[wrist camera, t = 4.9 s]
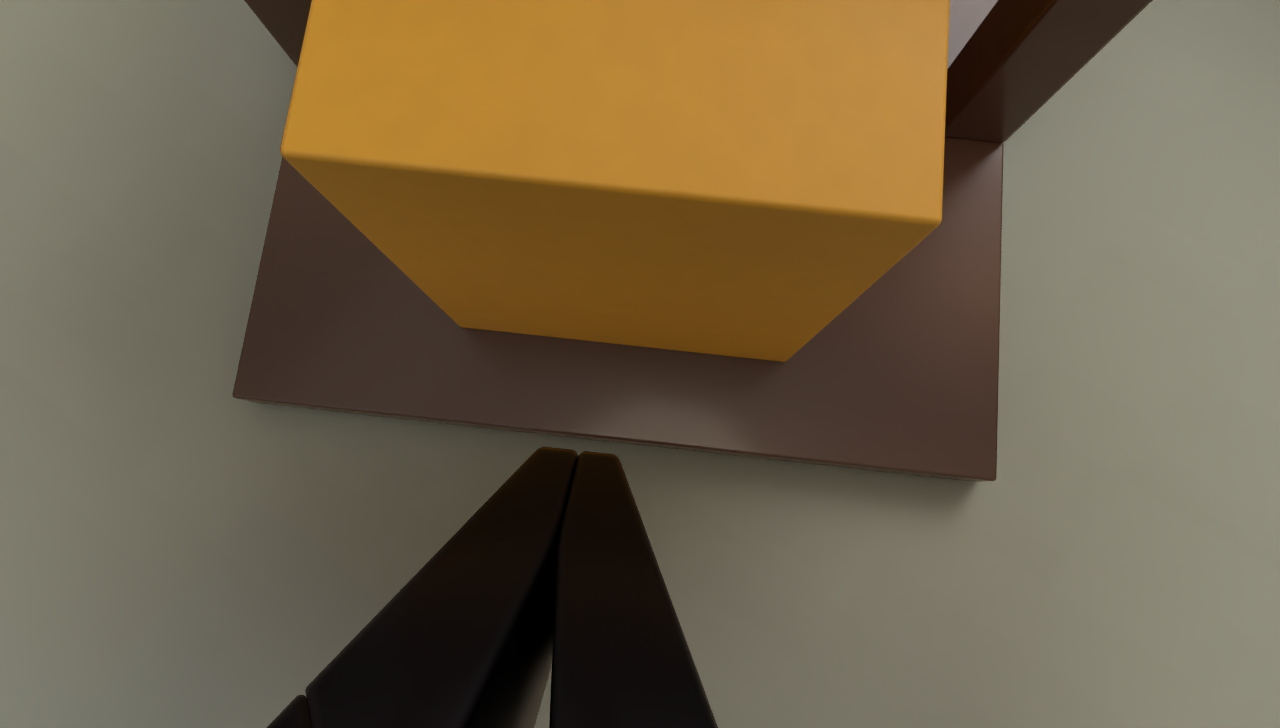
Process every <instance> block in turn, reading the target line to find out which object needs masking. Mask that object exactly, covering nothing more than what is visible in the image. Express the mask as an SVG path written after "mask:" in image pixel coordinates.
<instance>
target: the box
mask: <svg viewBox="0 0 1280 728" xmlns="http://www.w3.org/2000/svg"><path fill="white" fill-rule="evenodd" d="M949 9H950V0H312V2H311V6H310V11H309V16H308V21H307V25H306V30H305V35H304V40H303V44H302V49H301V54H300V59H299V63H298V68H297V73H296V78H295V82H294V87H293V92H292V96H291V101H290V106H289V111H288V115H287V120H286V125H285V130H284V134H283V139H282V144H281V149H280V150H281V155H282V157H283V158H284V159H285V160H286V161H288V162H289V163H290V164H291V165H292V166H293V167H294V168H295V169H296V170H297V171H298V172H299V173H300V174H301V175H302V176H303V177H304V178H305V179H306V180H307V181H308V182H309V183H310V184H312V185H313V186H314V187H315V188H316V189H317V190H318V191H319V192H320V193H321V194H322V195H323V196H324V197H325V198H326V199H327V200H328V201H329V202H330V203H331V204H332V205H333V206H334V207H336V208H337V209H338V210H339V211H340V212H341V213H342V214H343V215H344V216H345V217H346V218H347V219H348V220H349V221H350V222H351V223H352V224H353V225H354V226H355V227H356V228H357V229H358V230H360V231H361V232H362V233H363V234H364V235H365V236H366V237H367V238H368V239H369V240H370V241H371V242H372V243H373V244H374V245H375V246H376V247H377V248H378V249H379V250H380V251H381V252H382V253H384V254H385V255H386V256H387V257H388V258H389V259H390V260H391V261H392V262H393V263H394V264H395V265H396V266H397V267H398V268H399V269H400V270H401V271H402V272H403V273H404V274H405V275H406V276H408V277H409V278H410V279H411V280H412V281H413V282H414V283H415V284H416V285H417V286H418V287H419V288H420V289H421V290H422V291H423V292H424V293H425V294H426V295H427V296H428V297H429V298H430V299H432V300H433V301H434V302H435V303H436V304H437V305H438V306H439V307H440V308H441V309H442V310H443V311H444V312H445V313H446V314H447V315H448V316H449V317H450V318H451V319H452V320H453V321H454V322H456V323H457V324H458V325H459V326H460V327H464V328H473V329H483V330H492V331H501V332H511V333H520V334H529V335H538V336H548V337H557V338H566V339H576V340H585V341H594V342H603V343H613V344H622V345H631V346H641V347H650V348H659V349H668V350H678V351H687V352H696V353H705V354H715V355H724V356H733V357H743V358H752V359H761V360H770V361H780V362H785V361H787V360H788V359H789V358H790V357H792V356H793V355H794V354H795V353H796V352H797V351H798V350H799V349H801V348H802V347H803V346H804V345H805V344H806V343H807V342H808V341H810V340H811V339H812V338H813V337H814V336H815V335H816V334H817V333H819V332H820V331H821V330H822V329H823V328H824V327H825V326H826V325H828V324H829V323H830V322H831V321H832V320H833V319H834V318H835V317H837V316H838V315H839V314H840V313H841V312H842V311H843V310H844V309H846V308H847V307H848V306H849V305H850V304H851V303H852V302H853V301H855V300H856V299H857V298H858V297H859V296H860V295H861V294H862V293H864V292H865V291H866V290H867V289H868V288H869V287H870V286H871V285H873V284H874V283H875V282H876V281H877V280H878V279H879V278H880V277H882V276H883V275H884V274H885V273H886V272H887V271H888V270H889V269H891V268H892V267H893V266H894V265H895V264H896V263H897V262H898V261H900V260H901V259H902V258H903V257H904V256H905V255H906V254H907V253H909V252H910V251H911V250H912V249H913V248H914V247H915V246H916V245H918V244H919V243H920V242H921V241H922V240H923V239H924V238H925V237H927V236H928V235H929V234H930V233H931V232H932V231H933V230H934V229H936V228H937V227H938V226H939V225H940V223H941V221H942V199H943V172H944V144H945V117H946V90H947V63H948V36H949Z"/></svg>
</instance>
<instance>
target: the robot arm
mask: <svg viewBox="0 0 1280 728" xmlns="http://www.w3.org/2000/svg"><path fill="white" fill-rule="evenodd" d="M551 664H552V677H551V701H550V726H549V728H718V727H717V724H716V721H715V718H714V716H713V713H712V710H711V708H710V705H709V702H708V699H707V697H706V694H705V691H704V688H703V686H702V683H701V680H700V678H699V675H698V672H697V669H696V667H695V664H694V661H693V659H692V656H691V653H690V650H689V648H688V645H687V642H686V639H685V637H684V634H683V631H682V629H681V626H680V623H679V620H678V618H677V615H676V612H675V609H674V607H673V604H672V601H671V599H670V596H669V593H668V590H667V588H666V585H665V582H664V579H663V577H662V574H661V571H660V569H659V566H658V563H657V560H656V558H655V555H654V552H653V550H652V547H651V544H650V541H649V539H648V536H647V533H646V530H645V528H644V525H643V522H642V520H641V517H640V514H639V511H638V509H637V506H636V503H635V500H634V498H633V495H632V492H631V490H630V487H629V484H628V481H627V479H626V476H625V473H624V470H623V468H622V465H621V462H620V460H619V459H618V457H617V456H616V455H613V454H606V453H597V452H588V451H584V452H582V453H581V454H580V455H579V456H578V455H577V453H576V452H575V451H574V450H570V449H561V448H552V447H541V448H539V449H538V450H536V451H535V452H534V453H533V454H532V455H531V457H530V458H529V459H528V460H527V461H526V462H525V463H524V464H523V465H522V466H521V467H520V468H519V469H518V470H517V471H516V472H515V473H514V474H513V475H512V476H511V477H510V478H509V479H508V480H507V481H506V482H505V483H504V484H503V485H502V486H501V487H500V488H499V489H498V490H497V492H496V493H495V494H494V495H493V496H492V497H491V498H490V499H489V500H488V501H487V502H486V503H485V504H484V505H483V506H482V507H481V508H480V509H479V510H478V511H477V512H476V513H475V514H474V515H473V516H472V517H471V518H470V519H469V520H468V521H467V522H466V523H465V524H464V525H463V526H462V528H461V529H460V530H459V531H458V532H457V533H456V534H455V535H454V536H453V537H452V538H451V539H450V540H449V541H448V542H447V543H446V544H445V545H444V546H443V547H442V548H441V549H440V550H439V551H438V552H437V553H436V554H435V555H434V556H433V557H432V558H431V559H430V560H429V561H428V563H427V564H426V565H425V566H424V567H423V568H422V569H421V570H420V571H419V572H418V573H417V574H416V575H415V576H414V577H413V578H412V579H411V580H410V581H409V582H408V583H407V584H406V585H405V586H404V587H403V588H402V589H401V590H400V591H399V592H398V593H397V594H396V595H395V596H394V597H393V599H392V600H391V601H390V602H389V603H388V604H387V605H386V606H385V607H384V608H383V609H382V610H381V611H380V612H379V613H378V614H377V615H376V616H375V617H374V618H373V619H372V620H371V621H370V622H369V623H368V624H367V625H366V626H365V627H364V628H363V629H362V630H361V631H360V632H359V633H358V635H357V636H356V637H355V638H354V639H353V640H352V641H351V642H350V643H349V644H348V645H347V646H346V647H345V648H344V649H343V650H342V651H341V652H340V653H339V654H338V655H337V656H336V657H335V658H334V659H333V660H332V661H331V662H330V663H329V664H328V665H327V666H326V667H325V668H324V670H323V671H322V672H321V673H320V674H319V675H318V676H317V677H316V678H315V679H314V680H313V681H312V682H311V683H310V684H309V685H308V686H307V687H306V690H305V691H306V696H304V695H298V696H297V697H296V698H295V699H294V700H293V701H292V702H291V703H290V704H289V705H288V706H287V707H286V708H285V709H284V710H283V711H282V712H281V713H280V714H279V715H278V716H277V717H276V718H275V719H274V720H273V722H272V723H271V724H270V725H269V726H268V727H267V728H534V726H535V722H536V719H537V715H538V712H539V708H540V704H541V701H542V697H543V694H544V690H545V687H546V683H547V680H548V676H549V672H550V668H551Z"/></svg>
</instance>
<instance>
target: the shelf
mask: <svg viewBox="0 0 1280 728" xmlns="http://www.w3.org/2000/svg"><path fill="white" fill-rule="evenodd" d="M1151 1H1152V0H950V9H949V36H948V63H947V90H946V117H945V144H944V172H943V199H942V221H941V223H940V225H939V226H938V227H937V228H936V229H934V230H933V231H932V232H931V233H930V234H929V235H928V236H927V237H925V238H924V239H923V240H922V241H921V242H920V243H919V244H918V245H916V246H915V247H914V248H913V249H912V250H911V251H910V252H909V253H907V254H906V255H905V256H904V257H903V258H902V259H901V260H900V261H898V262H897V263H896V264H895V265H894V266H893V267H892V268H891V269H889V270H888V271H887V272H886V273H885V274H884V275H883V276H882V277H880V278H879V279H878V280H877V281H876V282H875V283H874V284H873V285H871V286H870V287H869V288H868V289H867V290H866V291H865V292H864V293H862V294H861V295H860V296H859V297H858V298H857V299H856V300H855V301H853V302H852V303H851V304H850V305H849V306H848V307H847V308H846V309H844V310H843V311H842V312H841V313H840V314H839V315H838V316H837V317H835V318H834V319H833V320H832V321H831V322H830V323H829V324H828V325H826V326H825V327H824V328H823V329H822V330H821V331H820V332H819V333H817V334H816V335H815V336H814V337H813V338H812V339H811V340H810V341H808V342H807V343H806V344H805V345H804V346H803V347H802V348H801V349H799V350H798V351H797V352H796V353H795V354H794V355H793V356H792V357H790V358H789V359H788V360H787V361H785V362H780V361H770V360H761V359H752V358H743V357H733V356H724V355H715V354H705V353H696V352H687V351H678V350H668V349H659V348H650V347H641V346H631V345H622V344H613V343H603V342H594V341H585V340H576V339H566V338H557V337H548V336H538V335H529V334H520V333H511V332H501V331H492V330H483V329H473V328H464V327H460V326H459V325H458V324H457V323H456V322H454V321H453V320H452V319H451V318H450V317H449V316H448V315H447V314H446V313H445V312H444V311H443V310H442V309H441V308H440V307H439V306H438V305H437V304H436V303H435V302H434V301H433V300H432V299H430V298H429V297H428V296H427V295H426V294H425V293H424V292H423V291H422V290H421V289H420V288H419V287H418V286H417V285H416V284H415V283H414V282H413V281H412V280H411V279H410V278H409V277H408V276H406V275H405V274H404V273H403V272H402V271H401V270H400V269H399V268H398V267H397V266H396V265H395V264H394V263H393V262H392V261H391V260H390V259H389V258H388V257H387V256H386V255H385V254H384V253H382V252H381V251H380V250H379V249H378V248H377V247H376V246H375V245H374V244H373V243H372V242H371V241H370V240H369V239H368V238H367V237H366V236H365V235H364V234H363V233H362V232H361V231H360V230H358V229H357V228H356V227H355V226H354V225H353V224H352V223H351V222H350V221H349V220H348V219H347V218H346V217H345V216H344V215H343V214H342V213H341V212H340V211H339V210H338V209H337V208H336V207H334V206H333V205H332V204H331V203H330V202H329V201H328V200H327V199H326V198H325V197H324V196H323V195H322V194H321V193H320V192H319V191H318V190H317V189H316V188H315V187H314V186H313V185H312V184H310V183H309V182H308V181H307V180H306V179H305V178H304V177H303V176H302V175H301V174H300V173H299V172H298V171H297V170H296V169H295V168H294V167H293V166H292V165H291V164H290V163H289V162H288V161H286V160H285V159H284V158H283V157H282V162H281V167H280V171H279V176H278V181H277V186H276V190H275V195H274V200H273V205H272V209H271V214H270V219H269V224H268V228H267V233H266V238H265V243H264V248H263V252H262V257H261V262H260V267H259V271H258V276H257V281H256V286H255V290H254V295H253V300H252V305H251V309H250V314H249V319H248V324H247V328H246V333H245V338H244V343H243V347H242V352H241V357H240V362H239V366H238V371H237V376H236V381H235V386H234V390H233V397H234V398H237V399H241V400H245V401H250V402H256V403H265V404H274V405H283V406H292V407H301V408H311V409H320V410H329V411H338V412H347V413H356V414H365V415H374V416H384V417H393V418H402V419H411V420H420V421H429V422H438V423H447V424H457V425H466V426H475V427H484V428H493V429H502V430H511V431H520V432H530V433H539V434H548V435H557V436H566V437H575V438H584V439H594V440H603V441H612V442H621V443H630V444H639V445H648V446H657V447H667V448H676V449H685V450H694V451H703V452H712V453H721V454H730V455H740V456H749V457H758V458H767V459H776V460H785V461H794V462H803V463H813V464H822V465H831V466H840V467H849V468H858V469H867V470H876V471H886V472H895V473H904V474H913V475H922V476H931V477H940V478H949V479H959V480H968V481H977V482H981V481H995V480H996V464H997V417H998V371H999V324H1000V277H1001V230H1002V183H1003V142H1004V141H1006V140H1007V139H1008V138H1009V137H1010V136H1011V135H1012V134H1013V133H1014V132H1015V131H1017V130H1018V129H1019V128H1020V127H1021V126H1022V125H1023V124H1024V123H1025V122H1026V121H1027V120H1028V119H1029V118H1030V117H1031V116H1032V115H1033V114H1034V113H1035V112H1036V111H1037V110H1038V109H1039V108H1041V107H1042V106H1043V105H1044V104H1045V103H1046V102H1047V101H1048V100H1049V99H1050V98H1051V97H1052V96H1053V95H1054V94H1055V93H1056V92H1057V91H1058V90H1059V89H1060V88H1061V87H1062V86H1064V85H1065V84H1066V83H1067V82H1068V81H1069V80H1070V79H1071V78H1072V77H1073V76H1074V75H1075V74H1076V73H1077V72H1078V71H1079V70H1080V69H1081V68H1082V67H1083V66H1084V65H1085V64H1086V63H1088V62H1089V61H1090V60H1091V59H1092V58H1093V57H1094V56H1095V55H1096V54H1097V53H1098V52H1099V51H1100V50H1101V49H1102V48H1103V47H1104V46H1105V45H1106V44H1107V43H1108V42H1109V41H1111V40H1112V39H1113V38H1114V37H1115V36H1116V35H1117V34H1118V33H1119V32H1120V31H1121V30H1122V29H1123V28H1124V27H1125V26H1126V25H1127V24H1128V23H1129V22H1130V21H1131V20H1132V19H1133V18H1135V17H1136V16H1137V15H1138V14H1139V13H1140V12H1141V11H1142V10H1143V9H1144V8H1145V7H1146V6H1147V5H1148V4H1149V3H1150V2H1151ZM245 2H246V3H247V4H248V5H249V7H250V8H251V9H252V11H253V12H254V13H255V14H256V16H257V17H258V18H259V19H260V21H261V22H262V23H263V24H264V26H265V27H266V28H267V29H268V31H269V32H270V33H271V35H272V36H273V37H274V38H275V40H276V41H277V42H278V43H279V45H280V46H281V47H282V48H283V50H284V51H285V52H286V54H287V55H288V56H289V57H290V59H291V60H292V61H293V62H294V64H295V65H296V66H297V67H298V63H299V59H300V54H301V49H302V44H303V40H304V35H305V30H306V25H307V21H308V16H309V11H310V6H311V2H312V0H245Z"/></svg>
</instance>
